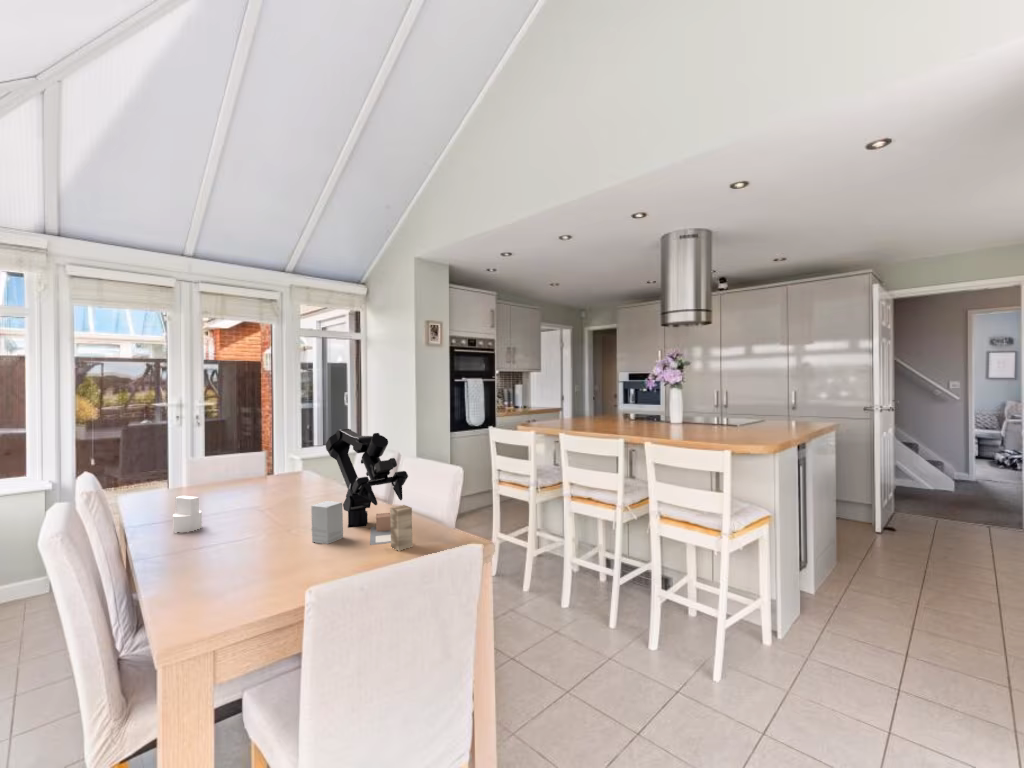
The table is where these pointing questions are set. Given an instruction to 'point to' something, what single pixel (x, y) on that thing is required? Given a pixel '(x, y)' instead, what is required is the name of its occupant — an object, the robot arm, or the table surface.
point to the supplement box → (327, 522)
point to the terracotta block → (383, 522)
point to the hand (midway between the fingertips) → (389, 502)
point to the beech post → (401, 527)
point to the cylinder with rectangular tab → (187, 514)
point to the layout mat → (379, 536)
